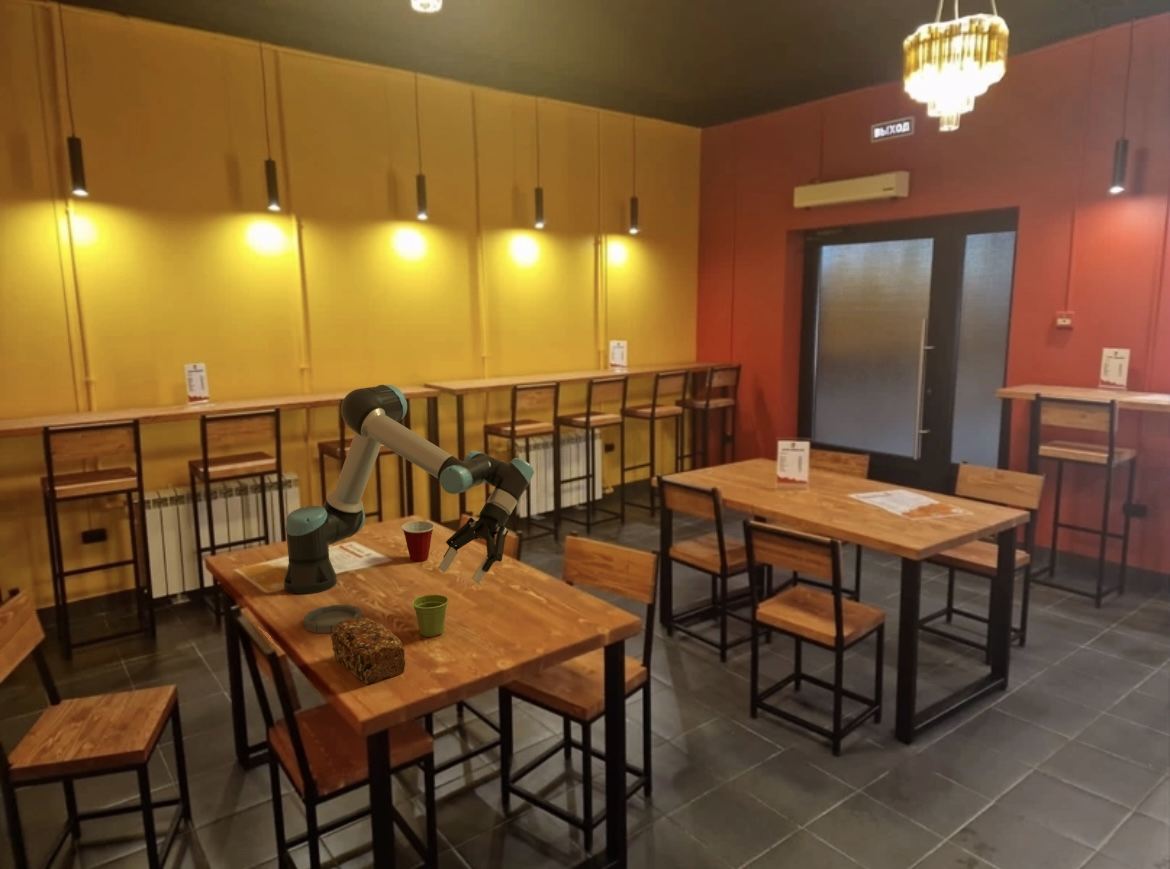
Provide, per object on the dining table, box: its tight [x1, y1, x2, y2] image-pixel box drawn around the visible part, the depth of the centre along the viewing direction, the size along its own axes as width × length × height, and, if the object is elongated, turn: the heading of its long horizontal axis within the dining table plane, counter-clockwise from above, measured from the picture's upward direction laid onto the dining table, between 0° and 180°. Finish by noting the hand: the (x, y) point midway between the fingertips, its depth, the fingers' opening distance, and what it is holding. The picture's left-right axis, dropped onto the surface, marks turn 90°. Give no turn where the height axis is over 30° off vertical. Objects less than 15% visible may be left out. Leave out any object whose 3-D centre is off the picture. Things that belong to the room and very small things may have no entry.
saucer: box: [303, 604, 363, 634], centre depth 211 cm, size 14×14×2 cm
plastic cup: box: [401, 520, 435, 563], centre depth 262 cm, size 11×11×12 cm
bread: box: [330, 617, 406, 685], centre depth 185 cm, size 19×11×10 cm, turn 40°
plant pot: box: [411, 594, 449, 638], centre depth 204 cm, size 9×9×9 cm
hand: (458, 575), depth 209 cm, fingers open, 13 cm apart
